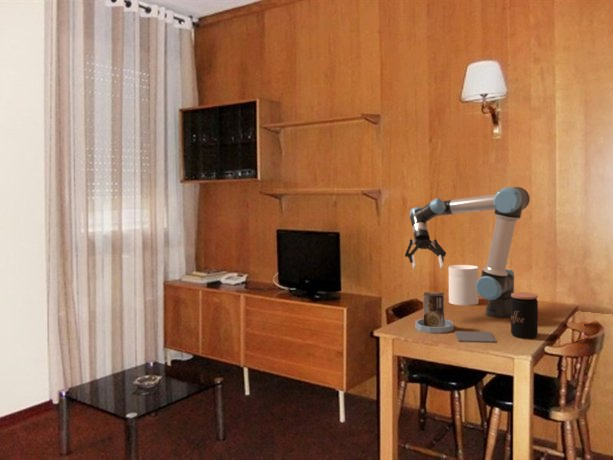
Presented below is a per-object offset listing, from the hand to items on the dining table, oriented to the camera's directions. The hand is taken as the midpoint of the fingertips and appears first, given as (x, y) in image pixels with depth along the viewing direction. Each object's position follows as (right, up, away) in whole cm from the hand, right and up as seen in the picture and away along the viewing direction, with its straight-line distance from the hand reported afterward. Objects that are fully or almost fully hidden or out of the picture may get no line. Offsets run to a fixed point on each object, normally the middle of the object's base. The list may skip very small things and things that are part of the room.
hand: (428, 267), depth 249 cm
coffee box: (0, -27, -12) cm, 30 cm away
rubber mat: (+13, -28, -29) cm, 42 cm away
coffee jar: (+35, -28, -29) cm, 53 cm away
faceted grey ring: (0, -27, -12) cm, 30 cm away
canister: (+29, -23, +38) cm, 53 cm away
